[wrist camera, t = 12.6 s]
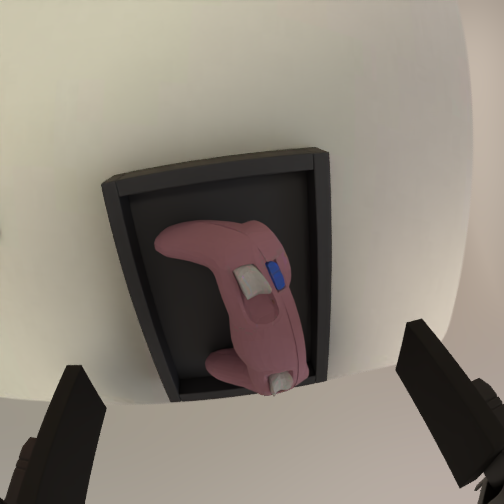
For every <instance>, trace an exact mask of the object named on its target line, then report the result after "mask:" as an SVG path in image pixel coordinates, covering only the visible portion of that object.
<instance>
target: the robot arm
mask: <svg viewBox="0 0 504 504" xmlns="http://www.w3.org/2000/svg"><path fill="white" fill-rule="evenodd" d="M396 372H397V374H398V375H399V377H400V379H401V381H402V382H403V384H404V386H405V387H406V389H407V391H408V393H409V394H410V396H411V398H412V399H413V401H414V403H415V405H416V407H417V408H418V410H419V412H420V414H421V416H422V417H423V419H424V421H425V423H426V425H427V426H428V428H429V430H430V432H431V434H432V436H433V437H434V439H435V441H436V443H437V445H438V447H439V449H440V451H441V453H442V455H443V456H444V458H445V460H446V462H447V464H448V466H449V468H450V470H451V472H452V474H453V476H454V478H455V480H456V482H457V484H458V486H459V488H462V487H463V486H465V485H467V484H469V483H471V482H472V481H474V480H476V479H477V478H478V477H479V476H480V475H481V474H482V473H483V472H484V474H485V476H486V477H485V478H484V479H483V480H482V481H481V482H480V483H479V484H478V485H477V486H476V488H475V491H477V490H478V489H479V488H480V487H481V486H482V488H481V490H480V491H481V492H480V496H479V500H478V504H504V404H502V401H501V400H500V398H499V397H497V394H496V393H495V392H494V390H493V389H492V388H491V386H490V385H489V384H487V383H486V382H484V381H483V380H482V379H480V378H478V379H476V380H474V381H470V379H469V378H468V376H467V375H466V374H465V372H464V371H463V370H462V369H461V367H460V366H459V364H458V363H457V362H456V361H455V359H454V358H453V357H452V355H451V354H450V353H449V352H448V350H447V349H446V348H445V346H444V345H443V344H442V343H441V341H440V340H439V339H438V338H437V336H436V335H435V334H434V333H433V331H432V330H431V329H430V328H429V327H428V325H427V324H426V323H425V322H424V321H423V319H419V320H415V321H411V322H407V323H406V328H405V332H404V337H403V341H402V346H401V350H400V354H399V358H398V362H397V366H396ZM105 412H106V406H105V405H104V403H103V401H102V400H101V398H100V396H99V395H98V393H97V391H96V390H95V388H94V386H93V385H92V383H91V381H90V379H89V378H88V376H87V374H86V372H85V370H84V369H83V367H82V365H67V366H66V368H65V370H64V372H63V375H62V377H61V379H60V381H59V384H58V386H57V388H56V391H55V393H54V395H53V398H52V400H51V402H50V405H49V407H48V410H47V412H46V415H45V417H44V420H43V422H42V425H41V428H40V430H39V433H38V436H37V438H32V437H30V438H29V439H28V441H27V442H26V443H25V444H24V445H23V447H22V450H21V453H20V456H19V460H18V461H17V464H16V468H15V470H14V473H13V476H12V479H11V482H10V485H9V488H8V492H7V495H6V498H5V500H3V499H1V498H0V504H85V499H86V494H87V489H88V484H89V479H90V475H91V470H92V465H93V461H94V456H95V452H96V448H97V444H98V440H99V436H100V431H101V427H102V424H103V420H104V416H105Z"/></svg>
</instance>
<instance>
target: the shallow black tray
mask: <svg viewBox="0 0 504 504" xmlns="http://www.w3.org/2000/svg"><path fill="white" fill-rule="evenodd" d="M101 187H102V192H103V196H104V201H105V205H106V210H107V214H108V218H109V222H110V226H111V230H112V234H113V238H114V242H115V245H116V249H117V253H118V256H119V260H120V263H121V267H122V270H123V274H124V277H125V280H126V283H127V287H128V290H129V293H130V296H131V299H132V302H133V305H134V308H135V311H136V314H137V317H138V320H139V323H140V326H141V329H142V332H143V334H144V337H145V340H146V343H147V345H148V348H149V351H150V353H151V356H152V358H153V361H154V364H155V366H156V369H157V371H158V374H159V376H160V379H161V381H162V383H163V386H164V388H165V391H166V393H167V395H168V398H169V400H170V402H181V401H182V402H184V401H196V400H207V399H217V398H226V397H235V396H242V395H250V394H257V393H256V392H254V391H252V390H249V389H247V388H244V387H241V386H237V385H234V384H230V383H227V382H224V381H221V380H218V379H217V378H215V377H213V376H212V375H211V374H210V373H209V372H208V371H207V369H206V366H205V361H206V359H207V357H208V356H209V355H210V354H211V353H212V352H215V351H217V350H221V349H228V348H234V346H233V343H232V339H231V332H230V321H229V314H228V312H227V309H226V307H225V304H224V301H223V299H222V296H221V293H220V290H219V287H218V284H217V281H216V278H215V276H214V274H213V272H212V271H211V270H210V269H209V268H208V267H206V266H204V265H201V264H197V263H194V262H191V261H186V260H181V259H176V258H170V257H166V256H164V255H162V254H161V253H159V252H158V251H156V249H155V246H154V242H155V239H156V237H157V236H158V235H159V234H160V233H161V232H162V231H163V230H164V229H166V228H167V227H169V226H172V225H175V224H179V223H182V222H188V221H195V220H216V221H229V222H236V223H240V224H243V223H245V222H248V221H252V220H255V221H259V222H261V223H263V224H264V225H266V226H267V227H268V228H269V229H270V230H271V231H272V232H273V233H274V234H275V236H276V237H277V238H278V240H279V241H280V243H281V244H282V246H283V248H284V250H285V253H286V255H287V257H288V260H289V264H290V267H291V281H290V285H289V288H290V291H291V293H292V296H293V299H294V301H295V304H296V308H297V311H298V314H299V318H300V322H301V327H302V331H303V335H304V342H305V350H306V363H307V366H308V369H309V375H308V377H307V378H306V379H305V380H303V381H302V382H301V383H299V384H298V385H296V386H295V387H299V386H304V385H309V384H314V383H315V382H316V383H319V382H324V381H327V371H328V355H329V337H330V314H331V273H332V226H331V185H330V162H329V152H327V151H324V150H321V149H319V148H316V147H312V148H299V149H287V150H276V151H266V152H257V153H248V154H239V155H231V156H223V157H216V158H209V159H202V160H195V161H189V162H183V163H176V164H171V165H165V166H159V167H154V168H148V169H143V170H138V171H133V172H128V173H123V174H118V175H114V176H112V177H111V178H109V179H108V180H106V181H105V182H103V183H102V184H101Z"/></svg>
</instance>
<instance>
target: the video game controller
mask: <svg viewBox="0 0 504 504" xmlns="http://www.w3.org/2000/svg"><path fill="white" fill-rule="evenodd" d="M154 246H155V249H156V251H158V252H159V253H161V254H162V255H164V256H166V257H170V258H176V259H181V260H186V261H191V262H194V263H197V264H201V265H204V266H206V267H208V268H209V269H210V270H211V271H212V272H213V274H214V276H215V278H216V281H217V284H218V287H219V290H220V293H221V296H222V299H223V301H224V304H225V307H226V309H227V312H228V314H229V321H230V332H231V339H232V343H233V346H234V348H228V349H221V350H217V351H215V352H212V353H211V354H210V355H209V356H208V357H207V359H206V361H205V366H206V369H207V371H208V372H209V373H210V374H211V375H212V376H213V377H215V378H217V379H218V380H221V381H224V382H227V383H230V384H234V385H237V386H241V387H244V388H247V389H249V390H252V391H254V392H256V393H258V394H261V395H264V396H269V395H273V396H275V395H276V394H277V393H281V392H285V391H288V390H290V389H292V388H294V387H295V386H296V385H298V384H299V383H301V382H302V381H303V380H305V379H306V378H307V377H308V375H309V369H308V366H307V363H306V350H305V342H304V335H303V331H302V327H301V322H300V318H299V314H298V311H297V308H296V304H295V301H294V299H293V296H292V293H291V291H290V288H289V285H290V281H291V267H290V264H289V260H288V257H287V255H286V253H285V250H284V248H283V246H282V244H281V243H280V241H279V240H278V238H277V237H276V236H275V234H274V233H273V232H272V231H271V230H270V229H269V228H268V227H267V226H266V225H264V224H263V223H261V222H259V221H255V220H252V221H248V222H245V223H243V224H240V223H236V222H229V221H216V220H195V221H188V222H182V223H179V224H175V225H172V226H169V227H167V228H166V229H164V230H163V231H162V232H161V233H160V234H159V235H158V236H157V237H156V239H155V242H154Z"/></svg>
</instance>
